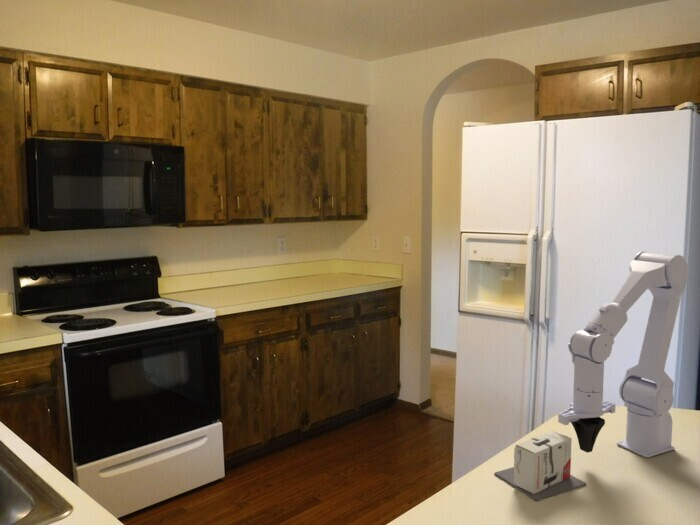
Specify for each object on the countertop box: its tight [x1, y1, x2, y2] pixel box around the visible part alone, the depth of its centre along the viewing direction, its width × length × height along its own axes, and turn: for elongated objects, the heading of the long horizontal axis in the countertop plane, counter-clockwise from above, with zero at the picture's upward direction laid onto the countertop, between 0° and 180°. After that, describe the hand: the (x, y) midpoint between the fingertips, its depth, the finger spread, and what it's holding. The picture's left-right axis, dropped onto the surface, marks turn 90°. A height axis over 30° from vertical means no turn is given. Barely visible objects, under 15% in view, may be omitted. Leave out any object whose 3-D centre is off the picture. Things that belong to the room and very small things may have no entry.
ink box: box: [513, 430, 572, 494], centre depth 117 cm, size 8×5×12 cm
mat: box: [494, 466, 587, 502], centre depth 119 cm, size 13×12×1 cm
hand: (585, 450), depth 124 cm, fingers closed
